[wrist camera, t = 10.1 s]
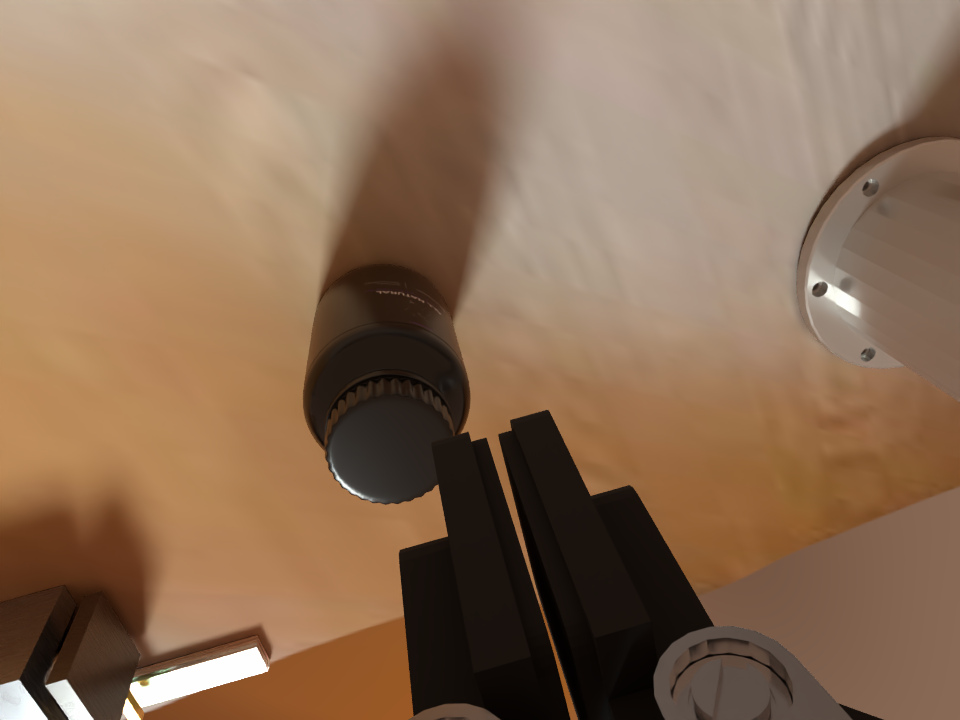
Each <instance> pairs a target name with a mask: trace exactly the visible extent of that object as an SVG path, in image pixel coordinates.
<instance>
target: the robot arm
mask: <svg viewBox="0 0 960 720" xmlns="http://www.w3.org/2000/svg"><path fill="white" fill-rule="evenodd" d="M797 297H798V302H799V307H800V312H801V314H802V316H803V319H804V321H805V323H806V325H807V328H808V329H809V330H810V332H811V333H812V334H813V336H814V337H815V338H816V339H817V341H818V342H819V343H821V344H822V345H823V346H824V347H826V348H827V349H828V350H829V351H831V352H832V353H833V354H835V355H836V356H838V357H840V358H842V359H843V360H845V361H847V362H849V363H852V364H855V365H858V366H861V367H866V368H878V369H888V368H897V367H904V366H906V367H908V368H909V369H911V370H912V371H914V372H915V373H917V374H918V375H920V376H921V377H923V378H924V379H926V380H927V381H929V382H930V383H932V384H933V385H935V386H936V387H938V388H939V389H941V390H942V391H944V392H945V393H947V394H948V395H950V396H951V397H953V398H954V399H955V400H957V401H958V402H960V139H958V138H952V137H946V136H944V137H928V138H921V139H917V140H913V141H910V142H906V143H902V144H899V145H897V146H895V147H893V148H891V149H889V150H887V151H884V152H882V153H880V154H878V155H877V156H875V157H874V158H872V159H871V160H869V161H868V162H866V163H865V164H863V165H862V166H861V167H859V168H858V169H856V170H855V171H854V172H853V173H852V174H851V175H850V176H849V177H848V178H847V179H846V180H845V181H844V182H843V183H841V184H840V185H839V186H838V188H837V189H836V190H835V191H834V193H833V194H832V195H831V196H830V198H829V199H828V200H827V201H826V203H825V204H824V205H823V206H822V208H821V210H820V212H819V213H818V215H817V217H816V218H815V220H814V222H813V224H812V225H811V227H810V229H809V232H808V235H807V237H806V240H805V242H804V245H803V247H802V250H801V255H800V260H799V265H798V270H797ZM510 423H511V428H512V431H508V432H505V433H501V434H498V436H499V441H500V445H501V449H502V453H503V457H504V461H505V465H506V469H507V473H508V477H509V481H510V485H511V489H512V493H513V497H514V501H515V505H516V509H517V513H518V517H519V521H520V525H521V529H522V533H523V537H524V541H525V545H526V549H527V553H528V557H529V561H530V564H531V568H532V572H533V576H534V580H535V584H536V588H537V591H538V595H539V598H540V601H541V605H542V607H543V611H544V614H545V617H546V620H547V623H548V627H549V630H550V633H551V636H552V639H553V642H554V645H555V648H556V651H557V655H558V658H559V661H560V664H561V667H562V670H563V673H564V677H565V679H566V683H567V686H568V689H569V692H570V695H571V698H572V702H573V705H574V708H575V711H576V714H577V717H578V720H883V719H880V718H877V717H874V716H871V715H869V714H866V713H863V712H861V711H857V710H855V709H852V708H849V707H847V706H844V705H841V704H838V703H837V702H836V701H835V700H834V699H833V698H832V697H831V696H830V694H829V693H828V692H827V691H826V690H825V689H824V688H823V687H822V686H821V685H820V683H819V682H818V681H817V680H816V679H815V678H814V677H813V676H812V675H811V673H810V672H809V671H808V670H807V669H806V668H805V667H804V666H803V665H802V664H801V662H800V661H799V660H798V659H797V658H796V657H795V656H794V655H793V654H792V653H791V652H789V651H788V650H787V649H786V648H784V647H783V646H782V645H781V644H780V643H778V642H777V641H775V640H774V639H771V638H769V637H767V636H765V635H763V634H761V633H758V632H756V631H753V630H749V629H744V628H739V627H734V626H722V627H714V625H713V623H712V621H711V620H710V618H709V616H708V615H707V613H706V611H705V609H704V608H703V606H702V604H701V602H700V601H699V599H698V597H697V596H696V594H695V592H694V590H693V589H692V587H691V585H690V584H689V582H688V580H687V578H686V577H685V575H684V573H683V572H682V570H681V568H680V566H679V565H678V563H677V561H676V559H675V558H674V556H673V554H672V553H671V551H670V549H669V547H668V546H667V544H666V542H665V541H664V539H663V537H662V535H661V534H660V532H659V530H658V528H657V527H656V525H655V523H654V522H653V520H652V518H651V516H650V515H649V513H648V511H647V510H646V508H645V506H644V504H643V503H642V501H641V499H640V497H639V496H638V494H637V493H636V491H635V490H634V488H633V487H631V486H630V485H628V486H625V487H621V488H618V489H614V490H611V491H607V492H604V493H600V494H596V495H593V496H590V494H589V492H588V490H587V488H586V486H585V484H584V482H583V480H582V478H581V476H580V473H579V471H578V469H577V467H576V465H575V463H574V461H573V459H572V457H571V455H570V453H569V451H568V449H567V447H566V445H565V443H564V440H563V438H562V436H561V434H560V432H559V430H558V428H557V426H556V424H555V422H554V420H553V418H552V416H551V414H550V412H549V410H545V411H542V412H538V413H534V414H531V415H527V416H524V417H520V418H516V419H513V420H510ZM431 447H432V452H433V458H434V463H435V468H436V474H437V479H438V484H439V490H440V495H441V500H442V506H443V511H444V516H445V522H446V527H447V532H448V537H444V538H441V539H437V540H434V541H430V542H427V543H423V544H419V545H416V546H412V547H409V548H405V549H402V550H400V552H399V564H400V574H401V585H402V596H403V607H404V617H405V628H406V639H407V650H408V660H409V671H410V682H411V693H412V703H413V714H414V717H412V718H410V719H409V720H570V716H569V712H568V708H567V704H566V700H565V696H564V692H563V688H562V684H561V680H560V676H559V672H558V669H557V664H556V661H555V657H554V653H553V650H552V646H551V643H550V640H549V636H548V632H547V629H546V626H545V623H544V620H543V616H542V613H541V610H540V607H539V604H538V600H537V597H536V594H535V591H534V588H533V585H532V581H531V578H530V575H529V572H528V569H527V565H526V562H525V559H524V556H523V553H522V550H521V546H520V543H519V540H518V537H517V534H516V530H515V527H514V524H513V521H512V518H511V515H510V511H509V508H508V505H507V502H506V499H505V495H504V492H503V489H502V486H501V483H500V480H499V476H498V473H497V470H496V467H495V464H494V461H493V457H492V454H491V451H490V448H489V445H488V441H487V438H483V439H480V440H476V441H472V442H471V439H470V435H469V432H466V433H462V434H459V435H455V436H451V437H448V438H444V439H440V440H437V441H433V442H431Z"/></svg>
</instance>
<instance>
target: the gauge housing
mask: <svg viewBox="0 0 960 720" xmlns="http://www.w3.org/2000/svg"><path fill="white" fill-rule="evenodd" d="M75 607H76V603H75V601H74V600H73V598H72V597H71V595H70V594H69V592H68V590H67V589H66V587H65V586H64V585H63V586H59V587H55V588H52V589H48V590H45V591H41V592H38V593H34V594H30V595H27V596H23V597H20V598H16V599H12V600H9V601H5V602H2V603H0V720H69V718H68V717H67V716H66V714H65V713H64V711H63V710H62V708H61V707H60V706H59V704H58V703H57V701H56V700H55V699H54V697H53V696H52V695H51V696H50V695H49V694H48V692H47V691H46V690H45V688H44V687H43V685H42V682H43V680H44V677H45V675H46V673H47V671H48V668H49V666H50V664H51V662H52V659H53V657H54V655H55V653H56V650H57V648H58V646H59V643H60V641H61V639H62V637H63V634H64V632H65V630H66V628H67V625H68V623H69V621H70V619H71V616H72V614H73V612H74V609H75ZM269 664H270V660H269V658H268V656H267V654H266V652H265V650H264V648H263V645H262V643H261V641H260V639H259V637H258V635H256V636H252V637H249V638H245V639H242V640H238V641H235V642H231V643H228V644H224V645H221V646H217V647H214V648H210V649H207V650H203V651H200V652H196V653H193V654H189V655H186V656H182V657H179V658H175V659H172V660H168V661H165V662H161V663H158V664H154V665H151V666H147V667H144V668H140V669H137V670H135V674H134V677H133V680H132V683H131V687H130V691H131V693H132V694H133V696H134V697H135V699H136V700H137V702H138V704H139V705H140V707H144V706H148V705H151V704H155V703H158V702H162V701H165V700H169V699H172V698H176V697H179V696H183V695H186V694H190V693H193V692H196V691H200V690H203V689H207V688H210V687H214V686H217V685H221V684H224V683H227V682H231V681H235V680H238V679H242V678H245V677H249V676H252V675H256V674H259V673H263V672H266V671H268V668H269Z"/></svg>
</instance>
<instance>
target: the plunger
mask: <svg viewBox="0 0 960 720" xmlns="http://www.w3.org/2000/svg"><path fill="white" fill-rule="evenodd" d="M139 658H140V653H139V651H138V650H137V648H136V647H135V645H134V643H133V642H132V640H131V638H130V637H129V635H128V633H127V632H126V630H125V628H124V627H123V625H122V623H121V622H120V620H119V618H118V617H117V615H116V613H115V612H114V610H113V608H112V607H111V605H110V604H109V602H108V600H107V599H106V597H105V595H104V594H103V592H102V591H101V592H97V593H94V594H90V595H87V596H84V597H83V600H82V602H81V604H80V606H79V609H78V611H77V613H76V616H75V618H74V620H73V623H72V625H71V627H70V629H69V632H68V634H67V636H66V639H65V641H64V643H63V646H62V648H61V650H60V652H59V653H56V654H55V655H54V657H53V659H52V662H51V664H50V666H49V668H48V671H47V673H46V675H45V677H44V680H43V682H42V685H43V687H44V688H45V690H46V691H47V692H48V694H49V695H50V696H51V695H52V696H53V697H54V699H55V700H56V701H57V703H58V704H59V706H60V707H61V708H62V710H63V711H64V713H65V714H66V716H67V717H68V718H69V720H120V719H121V715H122V712H124V714H125V715H126V717H127V718H128V720H143V716H144V712H143V710H142V708H141V707H140V705H139V704H138V702H137V700H136V699H135V697H134V696H133V694H132V693H131V691H130V687H131V683H132V680H133V677H134V674H135V670H136V667H137V664H138V661H139Z"/></svg>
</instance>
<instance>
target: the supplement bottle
mask: <svg viewBox="0 0 960 720" xmlns="http://www.w3.org/2000/svg"><path fill="white" fill-rule="evenodd" d="M303 409H304V415H305V419H306V422H307V425H308V428H309V430H310V432H311V434H312V436H313V437H314V439H315V440H316V442H317V443H318V444H319V446H320V447H321V448H322V449H323V450H324V451H325V458H326V460H327V462H328V468H329V470H330V471H331V472H332V473H333V476H334V479H335V480H336V481H338V482H339V483H340V485H341V487H342V488H344V489H346V490H348V491H349V493H350V494H351V495H356V496H358V497H359V498H360V499H362V500H369V501H370V502H372V503H382V504H385V505H386V504H390V503H395V504H399V503H402V502H404V501H411V500H413V499H414V498H418V497H422V496H423V495H424V494H425V493H426V492H429V491H432V490H433V488H434V487H435V486H436V485H438V479H437V474H436V468H435V463H434V458H433V452H432V447H431V442H433V441H437V440H440V439H444V438H448V437H451V436H455V435H459V434H461V432H462V430H463V428H464V426H465V424H466V421H467V418H468V414H469V409H470V387H469V381H468V377H467V373H466V369H465V365H464V362H463V358H462V355H461V351H460V348H459V344H458V341H457V337H456V333H455V330H454V326H453V323H452V319H451V316H450V313H449V310H448V307H447V305H446V303H445V301H444V299H443V297H442V296H441V294H440V293H439V291H438V290H437V289H436V287H435V286H434V285H433V284H432V283H431V282H429V281H428V280H427V279H426V278H424V277H423V276H421V275H420V274H418V273H416V272H414V271H412V270H410V269H407V268H404V267H400V266H396V265H389V264H377V265H369V266H365V267H361V268H358V269H355V270H353V271H351V272H349V273H347V274H345V275H344V276H342V277H341V278H339V279H338V280H337V281H336V282H335V283H333V284H332V285H331V286H330V288H329V289H328V290H327V291H326V293H325V294H324V295H323V297H322V299H321V301H320V303H319V305H318V307H317V310H316V313H315V318H314V323H313V328H312V335H311V341H310V348H309V355H308V361H307V368H306V375H305V382H304V390H303Z"/></svg>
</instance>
